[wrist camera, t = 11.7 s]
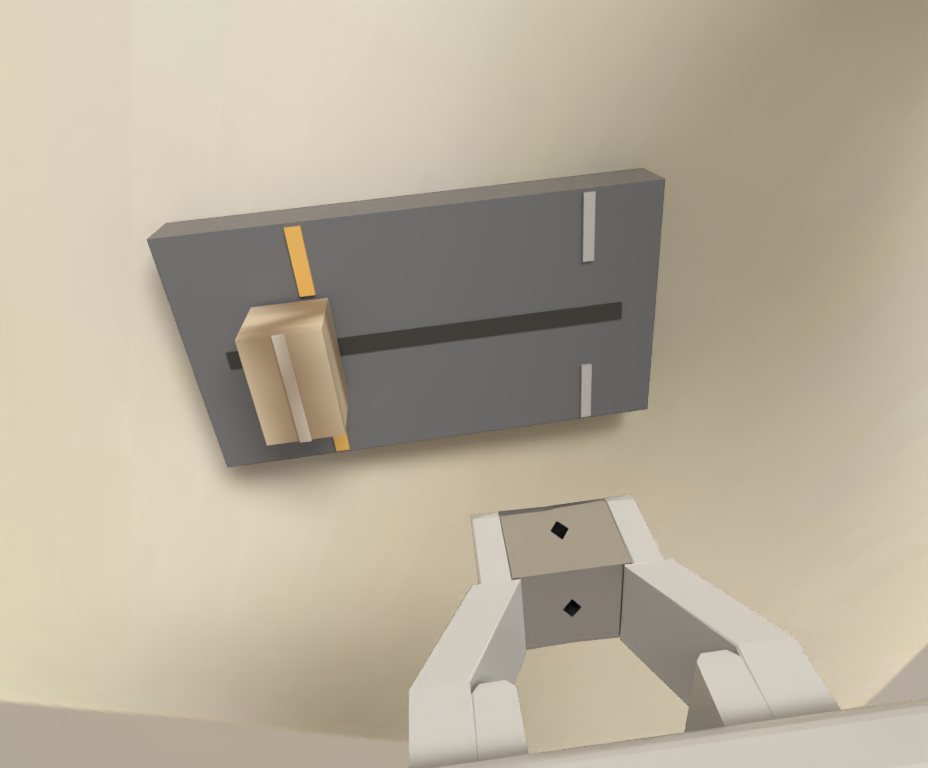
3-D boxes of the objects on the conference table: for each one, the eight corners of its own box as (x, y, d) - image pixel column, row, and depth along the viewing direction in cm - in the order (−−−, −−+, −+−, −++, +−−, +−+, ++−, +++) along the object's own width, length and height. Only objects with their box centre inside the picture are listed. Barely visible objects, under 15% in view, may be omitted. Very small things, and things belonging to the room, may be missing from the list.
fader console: (643, 168, 34) (666, 179, 31) (630, 385, 41) (648, 410, 38) (165, 223, 32) (145, 240, 29) (237, 439, 39) (226, 469, 36)
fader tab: (328, 297, 32) (321, 330, 28) (348, 395, 35) (344, 436, 31) (250, 307, 32) (234, 341, 28) (278, 404, 35) (266, 447, 31)
